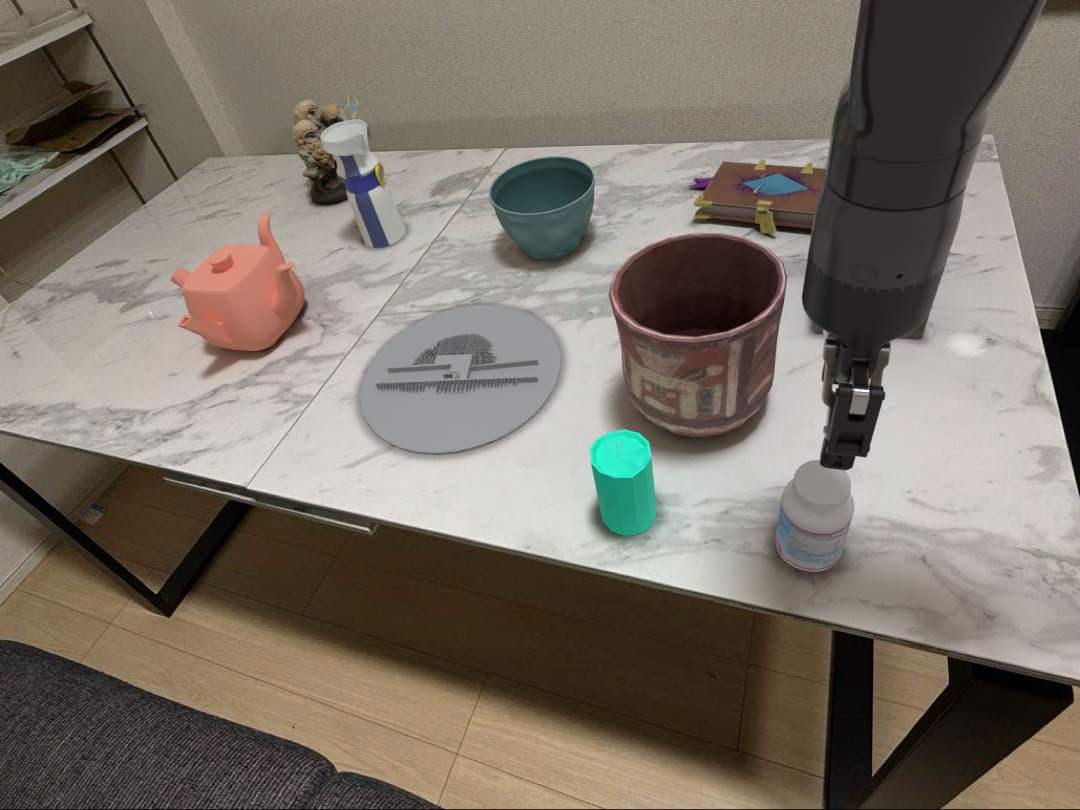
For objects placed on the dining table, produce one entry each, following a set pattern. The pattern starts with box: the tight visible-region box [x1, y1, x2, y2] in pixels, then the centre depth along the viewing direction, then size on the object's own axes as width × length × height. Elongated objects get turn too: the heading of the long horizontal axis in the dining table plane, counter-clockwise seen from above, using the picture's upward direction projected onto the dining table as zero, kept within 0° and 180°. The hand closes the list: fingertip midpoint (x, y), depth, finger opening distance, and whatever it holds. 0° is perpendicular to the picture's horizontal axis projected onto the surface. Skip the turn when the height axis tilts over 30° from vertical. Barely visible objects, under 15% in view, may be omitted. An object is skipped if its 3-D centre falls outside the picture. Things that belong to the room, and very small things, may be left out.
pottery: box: [608, 232, 788, 438], centre depth 74 cm, size 18×18×18 cm
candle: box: [589, 428, 658, 537], centre depth 67 cm, size 6×6×12 cm
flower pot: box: [488, 155, 596, 261], centre depth 104 cm, size 16×16×11 cm
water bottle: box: [321, 95, 407, 249], centre depth 110 cm, size 8×9×25 cm
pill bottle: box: [774, 459, 855, 573], centre depth 61 cm, size 6×6×11 cm
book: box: [687, 159, 826, 234], centre depth 103 cm, size 16×25×5 cm, turn 63°
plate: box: [360, 304, 562, 455], centre depth 91 cm, size 28×28×1 cm
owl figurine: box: [292, 99, 350, 204], centre depth 129 cm, size 18×12×17 cm, turn 165°
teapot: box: [170, 210, 306, 352], centre depth 102 cm, size 18×18×14 cm
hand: (835, 420), depth 51 cm, fingers open, 8 cm apart
